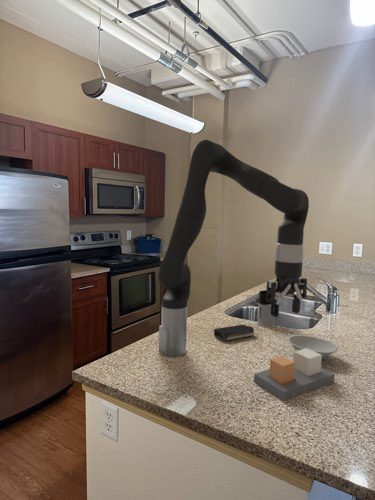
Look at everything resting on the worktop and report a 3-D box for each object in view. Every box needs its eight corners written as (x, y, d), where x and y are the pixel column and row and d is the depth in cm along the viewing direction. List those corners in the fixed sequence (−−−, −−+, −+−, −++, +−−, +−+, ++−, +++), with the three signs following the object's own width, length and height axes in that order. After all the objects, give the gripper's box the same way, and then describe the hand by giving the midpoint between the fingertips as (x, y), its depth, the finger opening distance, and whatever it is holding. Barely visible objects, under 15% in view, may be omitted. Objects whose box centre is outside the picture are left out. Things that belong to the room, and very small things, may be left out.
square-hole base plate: (283, 400, 94) (285, 373, 93) (253, 381, 104) (255, 356, 103) (334, 381, 105) (336, 357, 104) (302, 366, 115) (304, 343, 115)
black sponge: (223, 343, 134) (223, 334, 134) (211, 336, 142) (212, 327, 141) (255, 337, 142) (256, 328, 142) (243, 330, 149) (243, 322, 149)
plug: (281, 392, 98) (283, 366, 97) (268, 384, 103) (270, 359, 102) (293, 388, 101) (295, 362, 100) (280, 380, 105) (282, 355, 104)
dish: (279, 354, 124) (279, 341, 124) (296, 344, 135) (297, 331, 134) (327, 371, 112) (328, 356, 112) (343, 358, 123) (344, 344, 122)
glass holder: (278, 327, 154) (280, 294, 152) (247, 327, 152) (248, 294, 151) (272, 321, 162) (273, 290, 160) (242, 321, 161) (244, 290, 159)
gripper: (280, 262, 91) (277, 321, 93) (316, 259, 98) (312, 314, 100) (261, 258, 97) (258, 314, 99) (295, 256, 104) (292, 308, 106)
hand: (285, 314), depth 99 cm, fingers open, 8 cm apart
